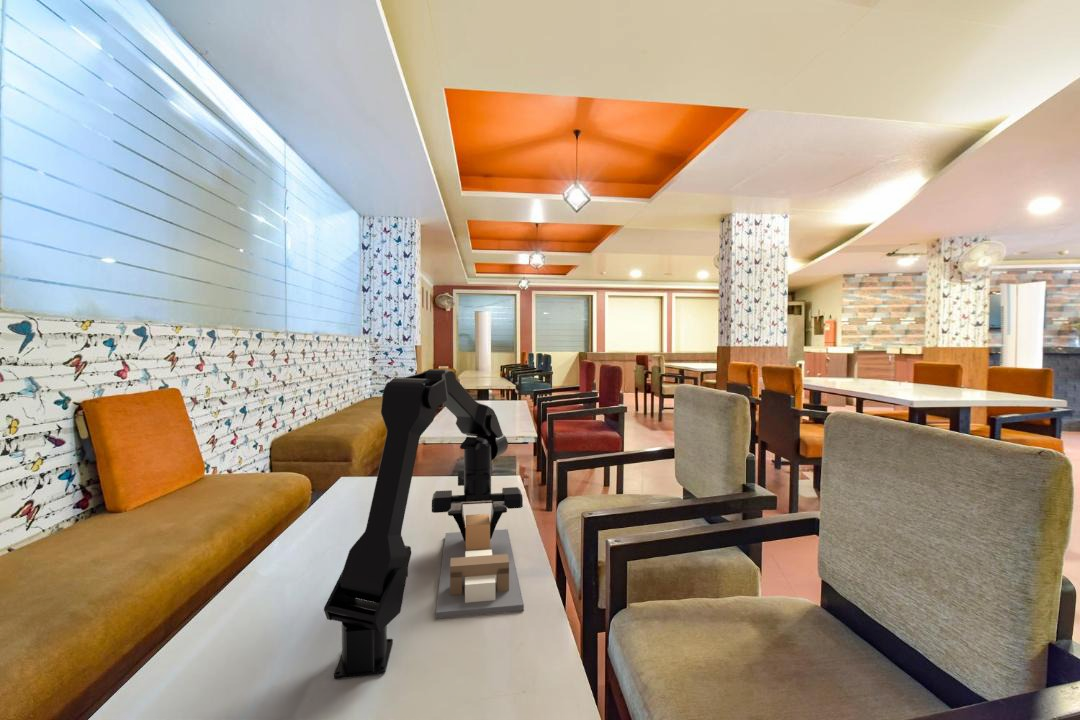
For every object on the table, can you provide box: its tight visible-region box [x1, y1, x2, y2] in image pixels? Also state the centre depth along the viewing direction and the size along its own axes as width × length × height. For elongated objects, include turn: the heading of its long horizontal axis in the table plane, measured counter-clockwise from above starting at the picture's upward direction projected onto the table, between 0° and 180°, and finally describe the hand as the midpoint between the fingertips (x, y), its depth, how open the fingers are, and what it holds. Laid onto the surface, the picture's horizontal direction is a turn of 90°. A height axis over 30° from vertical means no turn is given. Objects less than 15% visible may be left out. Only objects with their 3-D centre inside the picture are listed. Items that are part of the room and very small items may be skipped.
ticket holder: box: [435, 528, 525, 620], centre depth 86 cm, size 30×14×6 cm, turn 9°
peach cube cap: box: [465, 513, 490, 550], centre depth 94 cm, size 6×5×5 cm
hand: (477, 539), depth 94 cm, fingers closed on peach cube cap, 5 cm apart
